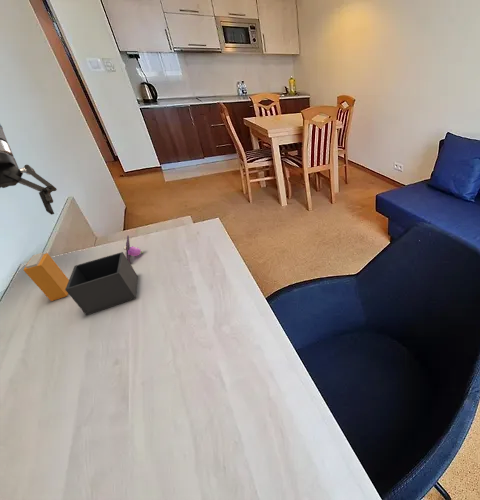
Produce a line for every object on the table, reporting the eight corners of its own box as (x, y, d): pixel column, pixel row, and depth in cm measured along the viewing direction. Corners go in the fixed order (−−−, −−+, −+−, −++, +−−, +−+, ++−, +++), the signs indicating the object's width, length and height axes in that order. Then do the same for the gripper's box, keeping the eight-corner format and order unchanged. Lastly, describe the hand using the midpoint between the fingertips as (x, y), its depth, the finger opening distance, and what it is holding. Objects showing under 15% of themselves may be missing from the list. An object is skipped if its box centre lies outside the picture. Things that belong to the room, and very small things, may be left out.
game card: (124, 235, 106) (123, 247, 100) (142, 235, 109) (142, 246, 102) (126, 252, 109) (125, 264, 102) (143, 251, 112) (143, 263, 105)
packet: (51, 301, 90) (21, 268, 83) (56, 288, 95) (29, 255, 88) (67, 296, 91) (39, 263, 84) (71, 283, 97) (46, 251, 89)
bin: (86, 315, 84) (65, 289, 78) (93, 290, 93) (74, 265, 87) (135, 298, 88) (119, 272, 83) (137, 276, 97) (122, 251, 92)
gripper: (54, 154, 99) (78, 211, 98) (-51, 175, 89) (-26, 239, 87) (41, 141, 93) (67, 201, 91) (-74, 162, 82) (-48, 231, 80)
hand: (21, 220), depth 89 cm, fingers open, 13 cm apart
